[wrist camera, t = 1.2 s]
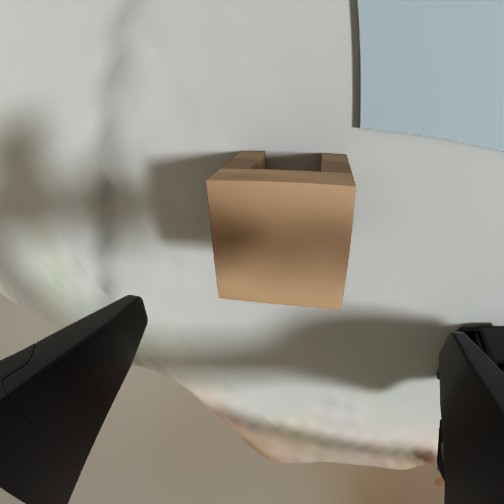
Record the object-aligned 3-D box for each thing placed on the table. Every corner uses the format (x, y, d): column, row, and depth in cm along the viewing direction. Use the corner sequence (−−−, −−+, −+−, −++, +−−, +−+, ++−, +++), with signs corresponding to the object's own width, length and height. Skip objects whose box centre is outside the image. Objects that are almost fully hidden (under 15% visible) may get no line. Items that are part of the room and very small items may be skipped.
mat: (539, 161, 14) (542, 162, 14) (359, 127, 17) (360, 128, 17) (538, 5, 8) (541, 5, 8) (351, -50, 11) (352, -52, 11)
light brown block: (339, 248, 21) (341, 309, 16) (246, 242, 23) (218, 297, 17) (346, 154, 18) (355, 186, 13) (241, 150, 19) (206, 180, 14)
